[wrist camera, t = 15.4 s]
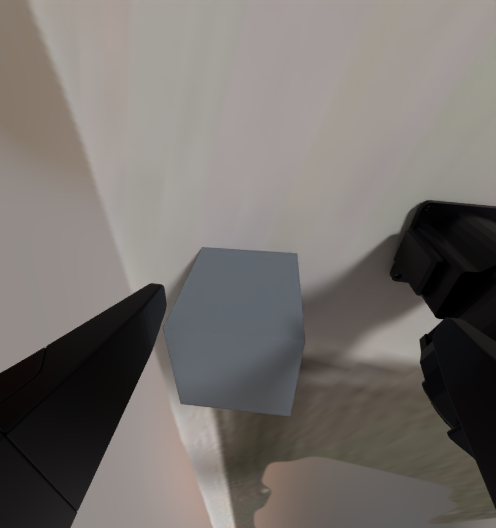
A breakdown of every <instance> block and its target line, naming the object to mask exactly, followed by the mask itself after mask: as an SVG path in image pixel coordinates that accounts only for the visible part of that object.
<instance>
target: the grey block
mask: <svg viewBox="0 0 496 528" xmlns="http://www.w3.org/2000/svg"><path fill="white" fill-rule="evenodd" d="M163 330H164V334H165V339H166V343H167V347H168V352H169V356H170V360H171V364H172V369H173V373H174V377H175V382H176V386H177V390H178V394H179V399H180V403H181V404H185V405H194V406H203V407H212V408H221V409H230V410H238V411H247V412H256V413H265V414H274V415H283V416H291V411H292V405H293V400H294V395H295V390H296V385H297V380H298V375H299V370H300V364H301V359H302V354H303V349H304V344H305V334H304V323H303V312H302V301H301V290H300V279H299V268H298V256H297V254H296V253H281V252H265V251H250V250H235V249H219V248H204V247H202V249H201V251H200V253H199V255H198V257H197V259H196V261H195V263H194V265H193V267H192V270H191V272H190V274H189V276H188V278H187V280H186V282H185V284H184V286H183V288H182V290H181V292H180V294H179V296H178V298H177V300H176V302H175V304H174V306H173V309H172V311H171V313H170V315H169V317H168V319H167V321H166V323H165V325H164V327H163Z"/></svg>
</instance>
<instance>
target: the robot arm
mask: <svg viewBox="0 0 496 528" xmlns="http://www.w3.org/2000/svg"><path fill="white" fill-rule="evenodd" d="M429 206H431V208H430V209H429V210H428V211H425V209H426V208H427V207H429ZM394 261H395V263H394V265H393V267H392V270H391V272H390V276H391V278H392V280H394V281H398V282H407V283H409V284H410V286H411V287H412V289H413V291H414V292H415V293H416V295H418V296H422V297H423V299H424V300H425V302H426V303H427V305H428V306H429V308H430V309H431V311H432V312H433V314H434V315H435V317H436V318H438V319H443V320H442V321H441V322H440V323H439V324H438V325H437V326H436V327H435V328H434V329H433V330H432V331H431V332H430V333H429V334H425V335H424V336H423V337H422V338H421V339H420V348H421V358H420V364H421V368H422V371H423V374H424V378H425V380H424V381H423V382H422V386H423V389H424V391H425V393H426V395H427V396H428V398H429V400H430V401H431V404H432V405H433V407H434V408H435V410H436V411H437V413H438V414H439V415H440V417H441V418H442V419H443V420H444V422H445V423H446V424H447V425H448V426H449V427H450V428H451V429H450V430H449V431H448V432H447V434H448V436H449V438H450V439H451V440H452V441H453V442H455V443H456V444H457V445H458V446H460V447H461V448H462V449H463V450H465V451H466V452H467V453H468V454H469V455H471V456H472V457H473V458H474V459H475V460H476V463H477V465H478V467H479V470H480V472H481V475H482V477H483V480H484V482H485V485H486V487H487V490H488V492H489V494H490V497H491V499H492V502H493V504H494V507H495V509H496V206H486V205H476V204H465V203H454V202H443V201H433V200H427V201H425V202H423V203H422V204H421V205H420V206H419V208H418V211H417V213H416V215H415V217H414V220H413V222H412V224H411V226H410V229H408V230H407V231H406V233H405V235H404V237H403V240H402V242H401V244H400V247H399V249H398V251H397V253H396V256H395V258H394ZM396 274H399V275H398V276H395V275H396ZM165 311H166V296H165V289H164V286H163V285H162V284H154V283H151V284H148V285H147V286H145V287H143V288H142V289H140V290H138V291H137V292H135V293H133V294H132V295H130V296H129V297H127V298H125V299H124V300H122V301H120V302H119V303H117V304H115V305H114V306H112V307H110V308H109V309H107V310H105V311H104V312H102V313H101V314H99V315H97V316H95V317H94V318H92V319H90V320H89V321H87V322H86V323H84V324H83V325H81V326H79V327H77V328H76V329H74V330H72V331H71V332H69V333H67V334H66V335H64V336H62V337H61V338H59V339H57V340H56V341H54V342H52V343H51V344H49V345H48V346H47V347H46V348H42V349H41V350H39V351H37V352H36V353H34V354H33V355H31V356H29V357H27V358H26V359H24V360H22V361H20V362H19V363H17V364H15V365H14V366H12V367H10V368H8V369H7V370H5V371H3V372H1V373H0V528H70V527H71V525H72V523H73V521H74V519H75V516H76V514H77V511H78V510H79V508H80V505H81V503H82V501H83V499H84V497H85V495H86V492H87V490H88V488H89V486H90V484H91V482H92V479H93V477H94V475H95V473H96V471H97V469H98V467H99V464H100V462H101V460H102V458H103V456H104V454H105V451H106V449H107V447H108V445H109V443H110V441H111V439H112V436H113V434H114V432H115V430H116V428H117V426H118V423H119V421H120V419H121V417H122V415H123V413H124V410H125V408H126V406H127V404H128V402H129V400H130V398H131V395H132V393H133V391H134V389H135V387H136V384H137V383H138V380H139V378H140V376H141V373H142V372H143V370H144V367H145V365H146V363H147V361H148V359H149V357H150V354H151V352H152V350H153V347H154V344H155V341H156V338H157V335H158V332H159V329H160V326H161V323H162V320H163V317H164V314H165Z"/></svg>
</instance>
